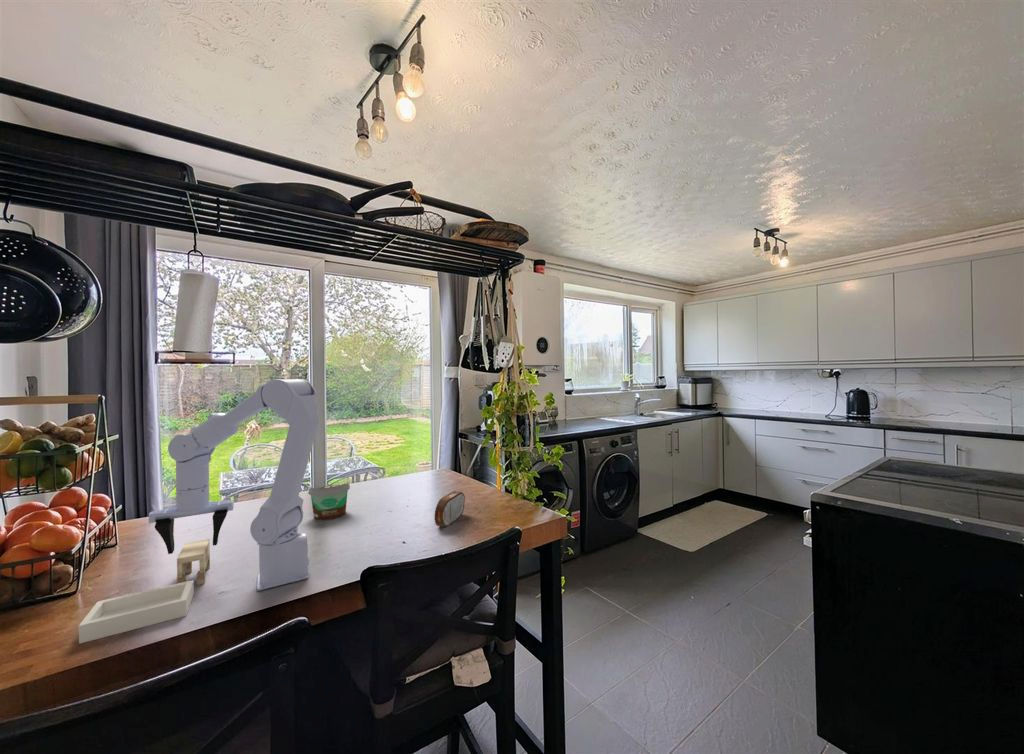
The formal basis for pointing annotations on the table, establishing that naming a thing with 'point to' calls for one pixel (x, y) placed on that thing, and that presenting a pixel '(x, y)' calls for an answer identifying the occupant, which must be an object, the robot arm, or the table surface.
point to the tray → (136, 611)
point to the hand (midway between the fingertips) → (193, 547)
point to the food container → (329, 501)
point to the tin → (449, 508)
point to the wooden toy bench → (193, 553)
